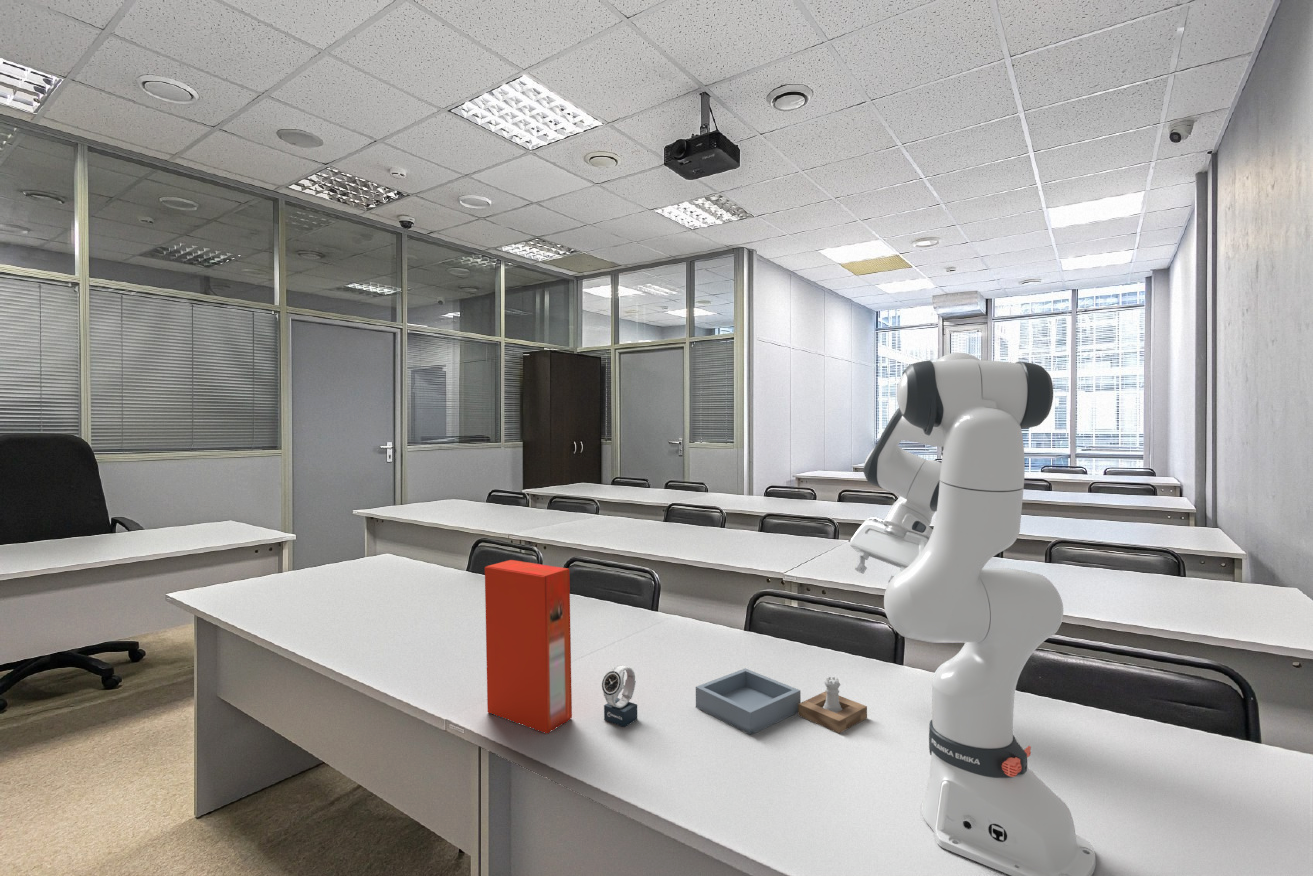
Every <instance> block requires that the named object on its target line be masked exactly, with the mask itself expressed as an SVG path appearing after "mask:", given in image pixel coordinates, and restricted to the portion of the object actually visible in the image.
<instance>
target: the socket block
mask: <svg viewBox="0 0 1313 876" xmlns="http://www.w3.org/2000/svg"><path fill="white" fill-rule="evenodd" d="M826 695H827V692H826V690H825V691H823V692H821V693H819V694H817V695H813V696H812V697H810V698H808V699H806V700H803V701H802V702H801V703H799V712H798V716H799V717H800V718H804V719H805V720H807V721H809V722H812V723H814V724H817V725H818V726H821V727H823V728H826V729H828V730H831V731H833V732H835V733H838V734H842V733H843V732H845V731H846V730H848V729H850V728H852V727H854V726H855V725H857V724H859V723H861V722H862V721H864V720H867V719H868V706H866V705H865V704H862V703H859V702H856V701H854V700H852V699H849V698H847V697H844V696H842V695H839V694H838V697H839V703H840V705H841V708H842V709H843V710H841V711H839V712H837V713H834V712H832V711H829V710H827V709H825V708H823V706H824V704H825V702H826Z"/></svg>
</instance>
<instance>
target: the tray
mask: <svg viewBox="0 0 1313 876" xmlns="http://www.w3.org/2000/svg"><path fill="white" fill-rule="evenodd" d="M801 694H802V693H801V690H800V689H798V688H795V687H794V686H790V685H788V684H786V683H783V682H781V681H778V680H775V679H773V678H771V677H769V676H766V675H763V674H761V673H758V672H756V671H753V670H751V669H748V668H742V669H740V670H737V671H735V672H731V673H728V674H727V675H724V676H722V677H718V678H716V679H714V680H710V681H707V682H705V683H702V684H700V685H697V686H695V708H697V709H698V710H701V711H702V712H705V713H706V714H708V715H710V716H712V717H714V718H716V719H718V720H720V721H722V722H724V723H726V724H728V725H730V726H732V727H734V728H736V729H737V730H740V731H742V732H743V733H745V734H747V735H749V736H752V735H754V734H756V733H758V732H761V731H762V730H764V729H767V728H768V727H771V726H772V725H775V724H777V723H779V722H781V721H783V720H785V719H788V718H790V717H791V716H793V715H796V714H797V713H798V714H799V703H801V700H802V699H801Z"/></svg>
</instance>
